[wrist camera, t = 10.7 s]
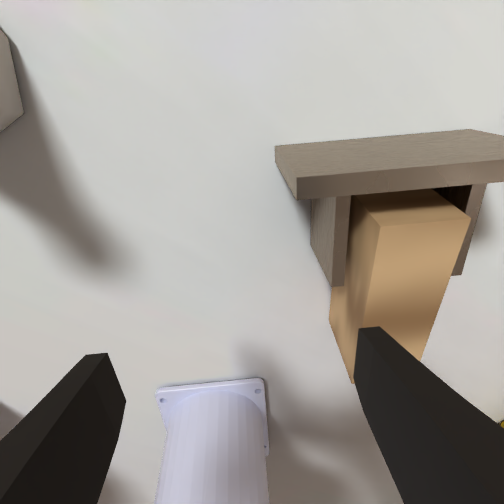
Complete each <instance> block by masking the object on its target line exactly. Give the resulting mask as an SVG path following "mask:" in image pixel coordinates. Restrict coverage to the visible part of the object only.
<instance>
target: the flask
mask: <svg viewBox="0 0 504 504" xmlns="http://www.w3.org/2000/svg"><path fill="white" fill-rule="evenodd" d="M23 114H24V111H23V107H22V102H21V97H20V93H19V88H18V83H17V79H16V74H15V69H14V65H13V60H12V55H11V51H10V46H9V41H8V38H7V37H6V36H5V34H4V33H3V32H2V31H1V30H0V132H1V131H2V130H4V129H5V128H6V127H7V126H9V125H10V124H11V123H12V122H14V121H15V120H16V119H18V118H19V117H20V116H21V115H23Z"/></svg>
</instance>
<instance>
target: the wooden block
mask: <svg viewBox="0 0 504 504" xmlns="http://www.w3.org/2000/svg"><path fill="white" fill-rule="evenodd" d="M470 221H471V218H470V217H469V216H468V215H466V214H465V213H463V212H462V211H461V210H459V209H458V208H457V207H455V206H454V205H453V204H451V203H450V202H449V201H447V200H446V199H445V198H443V197H442V196H441V195H439V194H438V193H436V192H435V191H434V190H432V189H431V188H427V189H416V190H405V191H394V192H383V193H372V194H361V195H351V201H350V214H349V227H348V240H347V253H346V266H345V279H344V286H339V287H332V292H331V302H330V313H329V322H330V325H331V328H332V331H333V333H334V336H335V339H336V342H337V344H338V347H339V350H340V353H341V355H342V358H343V361H344V364H345V367H346V369H347V372H348V375H349V378H350V380H351V383H352V384H355V382H354V379H353V374H354V365H355V356H356V347H357V338H358V329H359V328H367V327H377V326H380V327H381V328H382V329H383V330H384V331H386V332H387V333H388V334H389V335H390V336H391V337H392V338H394V339H395V340H396V341H397V342H398V343H399V344H400V345H401V346H403V347H404V348H405V349H406V350H407V351H408V352H409V353H411V354H412V355H413V356H414V357H415V358H416V359H417V360H419V361H420V360H421V357H422V354H423V351H424V349H425V346H426V343H427V340H428V338H429V335H430V332H431V329H432V326H433V324H434V321H435V318H436V315H437V313H438V310H439V307H440V304H441V301H442V299H443V296H444V293H445V290H446V288H447V285H448V282H449V279H450V277H451V274H452V271H453V268H454V265H455V263H456V260H457V257H458V254H459V252H460V249H461V246H462V243H463V240H464V238H465V235H466V232H467V229H468V227H469V224H470Z"/></svg>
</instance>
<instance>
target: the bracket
mask: <svg viewBox="0 0 504 504" xmlns="http://www.w3.org/2000/svg"><path fill="white" fill-rule="evenodd" d="M275 162H276V164H277V166H278V168H279V170H280V171H281V173H282V175H283V177H284V179H285V180H286V182H287V184H288V186H289V187H290V189H291V191H292V193H293V195H294V196H295V198H296V200H305V199H311V247H312V249H313V251H314V253H315V255H316V257H317V259H318V261H319V263H320V265H321V267H322V269H323V271H324V273H325V275H326V277H327V279H328V282H329V284H330V286H331V287H339V286H344V279H345V266H346V253H347V240H348V227H349V214H350V201H351V195H361V194H372V193H383V192H394V191H405V190H416V189H427V188H431V189H432V190H434V191H435V192H436V193H438V194H439V195H441V196H442V197H443V198H445V199H446V200H447V201H449V202H450V203H451V204H453V205H454V206H455V207H457V208H458V209H459V210H461V211H462V212H463V213H465V214H466V215H468V216H469V217H470V218H471V221H470V224H469V227H468V229H467V232H466V235H465V238H464V240H463V243H462V246H461V249H460V252H459V254H458V257H457V260H456V263H455V265H454V268H453V271H452V274H451V276H455V275H461V274H462V271H463V267H464V263H465V260H466V256H467V253H468V249H469V246H470V242H471V239H472V235H473V231H474V228H475V224H476V221H477V217H478V214H479V210H480V206H481V203H482V199H483V196H484V192H485V189H486V185H487V183H494V182H504V136H502V135H497V134H492V133H487V132H482V131H477V130H472V129H466V130H454V131H443V132H431V133H419V134H408V135H396V136H385V137H373V138H362V139H350V140H338V141H327V142H315V143H304V144H292V145H281V146H275Z"/></svg>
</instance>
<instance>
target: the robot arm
mask: <svg viewBox="0 0 504 504" xmlns="http://www.w3.org/2000/svg"><path fill="white" fill-rule="evenodd" d="M353 379H354V382H355V386H356V389H357V392H358V395H359V399H360V402H361V405H362V408H363V411H364V414H365V416H366V418H367V421H368V423H369V425H370V428H371V430H372V432H373V434H374V437H375V439H376V441H377V443H378V446H379V448H380V450H381V452H382V455H383V457H384V459H385V461H386V464H387V466H388V468H389V470H390V473H391V475H392V477H393V479H394V482H395V484H396V486H397V488H398V491H399V493H400V495H401V497H402V500H403V502H404V504H504V428H503V427H501V426H500V425H499V424H497V423H496V422H495V421H493V420H492V419H491V418H489V417H488V416H487V415H485V414H484V413H483V412H481V411H480V410H479V409H477V408H476V407H475V406H473V405H472V404H471V403H469V402H468V401H467V400H466V399H464V398H463V397H462V396H461V395H459V394H458V393H457V392H456V391H454V390H453V389H452V388H451V387H449V386H448V385H447V384H446V383H445V382H443V381H442V380H441V379H440V378H439V377H437V376H436V375H435V374H434V373H433V372H431V371H430V370H429V369H428V368H427V367H426V366H424V365H423V364H422V363H421V362H420V361H419V360H417V359H416V358H415V357H414V356H413V355H412V354H411V353H409V352H408V351H407V350H406V349H405V348H404V347H403V346H401V345H400V344H399V343H398V342H397V341H396V340H395V339H394V338H392V337H391V336H390V335H389V334H388V333H387V332H386V331H384V330H383V329H382V328H381V327H380V326H377V327H367V328H359V329H358V338H357V347H356V356H355V365H354V374H353ZM155 397H156V400H157V403H158V406H159V409H160V412H161V416H162V419H163V422H164V425H165V428H166V431H167V434H166V440H165V445H164V451H163V456H162V462H161V467H160V473H159V478H158V484H157V489H156V495H155V501H154V504H270V501H269V490H268V480H267V469H266V458H265V457H266V456H268V455H269V453H270V452H269V439H268V427H267V414H266V402H265V389H264V381H263V380H262V379H260V378H252V379H242V380H232V381H222V382H212V383H202V384H192V385H182V386H172V387H162V388H159V389H157V390H156V394H155ZM125 404H126V399H125V396H124V394H123V391H122V389H121V386H120V384H119V381H118V379H117V376H116V374H115V371H114V368H113V366H112V363H111V361H110V358H109V356H108V353H100V354H90V355H85V356H84V357H83V358H82V359H81V360H80V361H79V362H78V363H77V364H76V365H75V366H74V367H73V368H72V369H71V370H70V371H69V372H68V373H67V374H66V375H65V376H64V377H63V379H62V380H61V381H60V382H59V383H58V384H57V385H56V386H55V387H54V388H53V389H52V390H51V391H50V392H49V393H48V394H47V395H46V396H45V397H44V398H43V399H42V400H41V401H40V402H39V403H38V404H37V405H36V406H35V407H34V408H33V409H32V410H31V411H30V412H29V413H28V414H27V415H26V416H25V417H24V418H23V419H22V420H21V421H20V422H19V423H18V424H17V425H16V426H15V427H14V428H13V429H12V430H11V431H10V432H9V433H8V434H7V435H6V436H5V437H4V438H3V439H2V440H1V441H0V504H97V502H98V499H99V496H100V493H101V490H102V487H103V484H104V481H105V478H106V475H107V472H108V469H109V466H110V463H111V460H112V457H113V454H114V451H115V448H116V444H117V441H118V438H119V433H120V429H121V424H122V419H123V414H124V409H125Z"/></svg>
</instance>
